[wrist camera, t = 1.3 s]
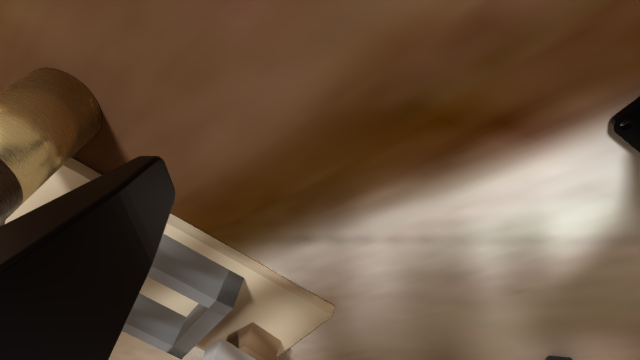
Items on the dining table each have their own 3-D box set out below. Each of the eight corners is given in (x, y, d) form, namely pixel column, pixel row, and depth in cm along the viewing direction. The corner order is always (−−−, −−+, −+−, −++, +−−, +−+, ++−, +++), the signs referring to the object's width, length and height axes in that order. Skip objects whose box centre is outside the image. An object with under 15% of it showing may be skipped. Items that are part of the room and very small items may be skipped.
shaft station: (334, 305, 32) (324, 366, 28) (255, 365, 39) (239, 420, 35) (34, 136, 27) (-25, 184, 23) (5, 240, 34) (-43, 289, 30)
